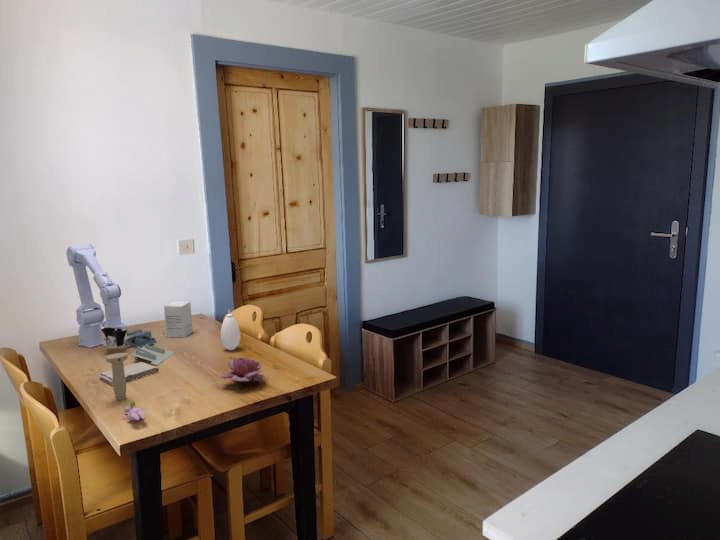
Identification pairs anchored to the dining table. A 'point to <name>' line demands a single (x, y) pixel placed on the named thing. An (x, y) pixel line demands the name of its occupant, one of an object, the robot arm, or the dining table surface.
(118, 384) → the handle
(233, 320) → the sauce bottle
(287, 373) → the dining table surface
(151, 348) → the metal bracket
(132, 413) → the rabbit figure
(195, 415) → the dining table surface
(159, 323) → the dining table surface
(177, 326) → the supplement box
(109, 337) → the notched block
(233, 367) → the flower
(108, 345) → the vise
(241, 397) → the dining table surface
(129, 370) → the washcloth
